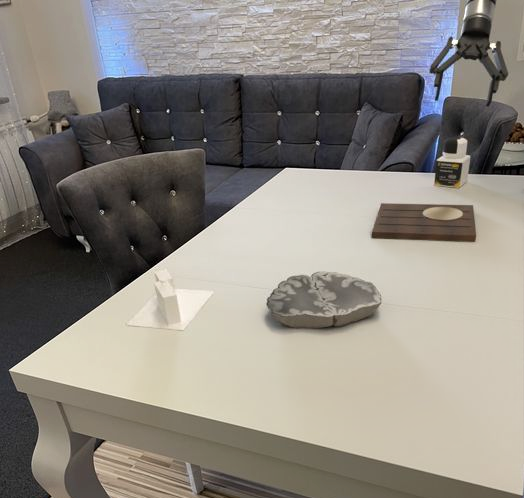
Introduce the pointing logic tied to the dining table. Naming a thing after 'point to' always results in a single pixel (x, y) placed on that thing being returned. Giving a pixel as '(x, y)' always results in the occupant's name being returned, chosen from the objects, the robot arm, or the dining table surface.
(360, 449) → the dining table surface
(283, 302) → the brain slice
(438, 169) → the medicine bottle
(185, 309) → the napkin holder
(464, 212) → the board
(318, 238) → the dining table surface
